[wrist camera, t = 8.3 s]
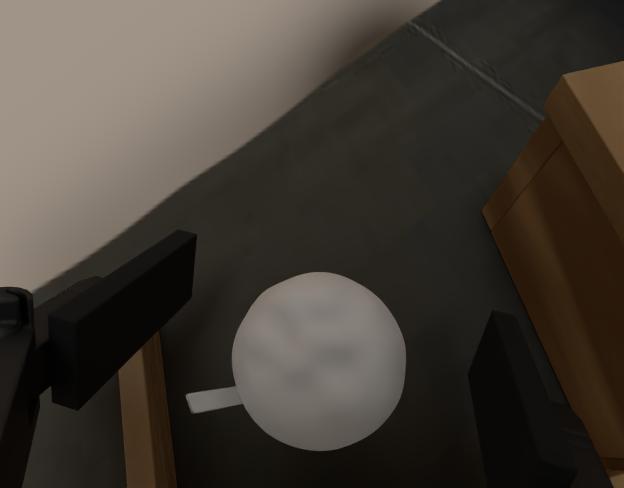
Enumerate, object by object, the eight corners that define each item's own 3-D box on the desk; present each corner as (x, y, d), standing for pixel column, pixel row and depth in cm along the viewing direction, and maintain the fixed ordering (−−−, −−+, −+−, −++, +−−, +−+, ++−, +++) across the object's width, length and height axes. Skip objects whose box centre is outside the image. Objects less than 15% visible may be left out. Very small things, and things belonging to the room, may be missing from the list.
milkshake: (233, 371, 20) (154, 309, 10) (343, 319, 20) (360, 218, 11) (275, 478, 18) (225, 515, 9) (394, 415, 19) (461, 389, 10)
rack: (711, 151, 24) (920, -6, 15) (900, 409, 18) (1367, 382, 10) (133, 291, 21) (11, 195, 13) (165, 630, 16) (1, 826, 8)
